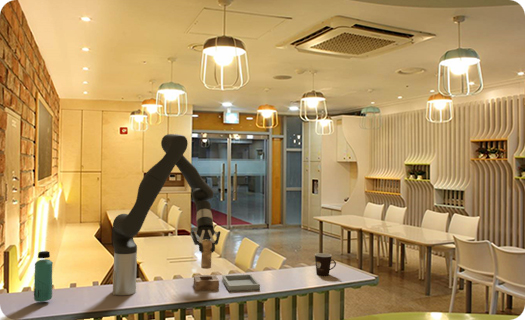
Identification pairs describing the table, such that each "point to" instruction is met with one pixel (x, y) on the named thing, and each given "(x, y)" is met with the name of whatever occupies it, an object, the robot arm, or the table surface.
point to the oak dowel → (206, 254)
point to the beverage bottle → (43, 278)
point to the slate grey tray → (240, 282)
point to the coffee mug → (323, 264)
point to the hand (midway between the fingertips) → (207, 251)
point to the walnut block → (206, 282)
